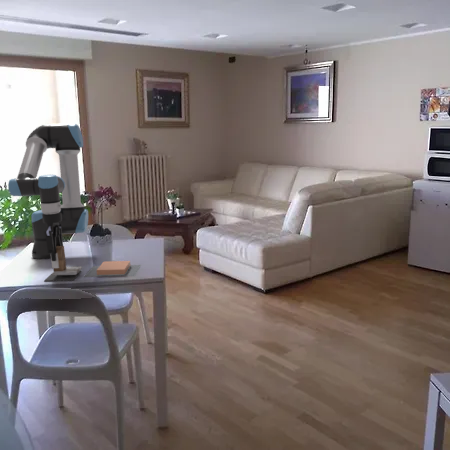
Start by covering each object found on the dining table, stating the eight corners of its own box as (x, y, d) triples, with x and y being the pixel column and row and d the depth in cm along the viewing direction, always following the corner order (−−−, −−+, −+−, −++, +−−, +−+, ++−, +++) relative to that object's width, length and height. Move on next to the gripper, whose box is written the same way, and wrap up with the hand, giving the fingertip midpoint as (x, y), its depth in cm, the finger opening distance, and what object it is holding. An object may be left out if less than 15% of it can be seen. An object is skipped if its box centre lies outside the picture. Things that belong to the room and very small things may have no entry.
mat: (93, 267, 214) (93, 266, 214) (141, 265, 213) (141, 264, 213) (83, 278, 199) (83, 277, 199) (135, 276, 199) (134, 275, 199)
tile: (103, 261, 211) (130, 260, 211) (104, 266, 212) (130, 266, 212) (96, 270, 200) (124, 269, 200) (97, 275, 200) (124, 274, 200)
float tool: (58, 269, 204) (56, 244, 201) (81, 268, 204) (79, 244, 201) (52, 275, 196) (49, 250, 194) (76, 274, 196) (73, 249, 194)
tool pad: (54, 273, 206) (54, 271, 206) (81, 272, 206) (81, 270, 206) (44, 282, 195) (44, 280, 195) (73, 282, 195) (72, 279, 194)
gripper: (53, 216, 186) (59, 272, 191) (67, 208, 202) (72, 259, 208) (34, 216, 186) (41, 272, 191) (50, 208, 203) (56, 260, 208)
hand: (57, 266), depth 199 cm, fingers closed on float tool, 4 cm apart
